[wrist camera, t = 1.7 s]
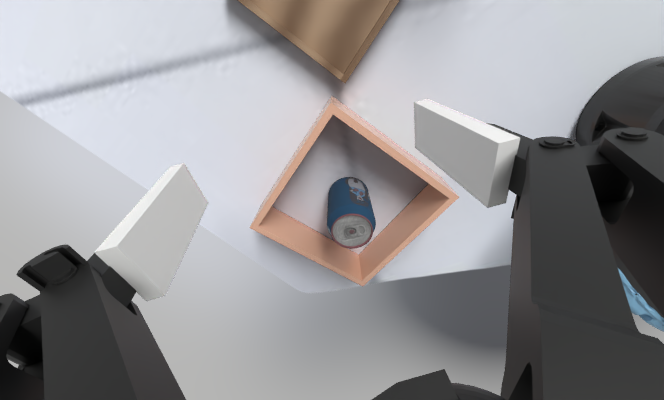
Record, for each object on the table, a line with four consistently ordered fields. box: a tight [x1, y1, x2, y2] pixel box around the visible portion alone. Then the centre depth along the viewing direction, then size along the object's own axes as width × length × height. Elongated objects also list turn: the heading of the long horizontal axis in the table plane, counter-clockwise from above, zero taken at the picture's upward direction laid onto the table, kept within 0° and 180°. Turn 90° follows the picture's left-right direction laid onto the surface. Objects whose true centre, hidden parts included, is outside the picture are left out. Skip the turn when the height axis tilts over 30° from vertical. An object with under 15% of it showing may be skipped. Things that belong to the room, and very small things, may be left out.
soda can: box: [327, 177, 376, 249], centre depth 39 cm, size 7×7×12 cm
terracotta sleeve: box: [250, 96, 459, 286], centre depth 42 cm, size 23×23×7 cm
